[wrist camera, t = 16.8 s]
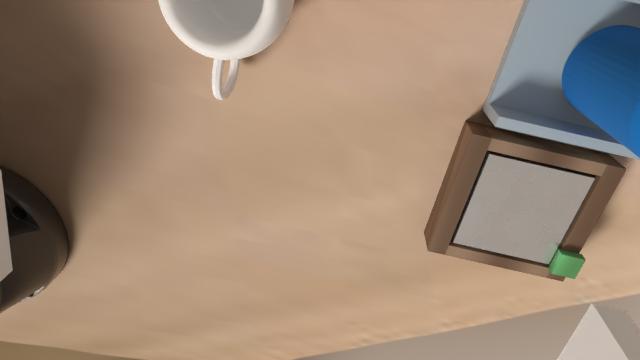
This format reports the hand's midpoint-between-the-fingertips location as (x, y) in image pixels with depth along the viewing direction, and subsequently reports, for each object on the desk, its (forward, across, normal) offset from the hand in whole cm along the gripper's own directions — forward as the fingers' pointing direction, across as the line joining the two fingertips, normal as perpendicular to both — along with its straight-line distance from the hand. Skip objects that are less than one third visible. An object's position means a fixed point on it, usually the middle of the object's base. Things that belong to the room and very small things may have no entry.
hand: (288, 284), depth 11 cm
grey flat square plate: (+27, +17, -9) cm, 33 cm away
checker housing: (+29, +17, -9) cm, 35 cm away
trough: (+29, +19, +3) cm, 35 cm away
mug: (+29, -8, +1) cm, 30 cm away
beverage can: (+28, +19, +3) cm, 34 cm away
